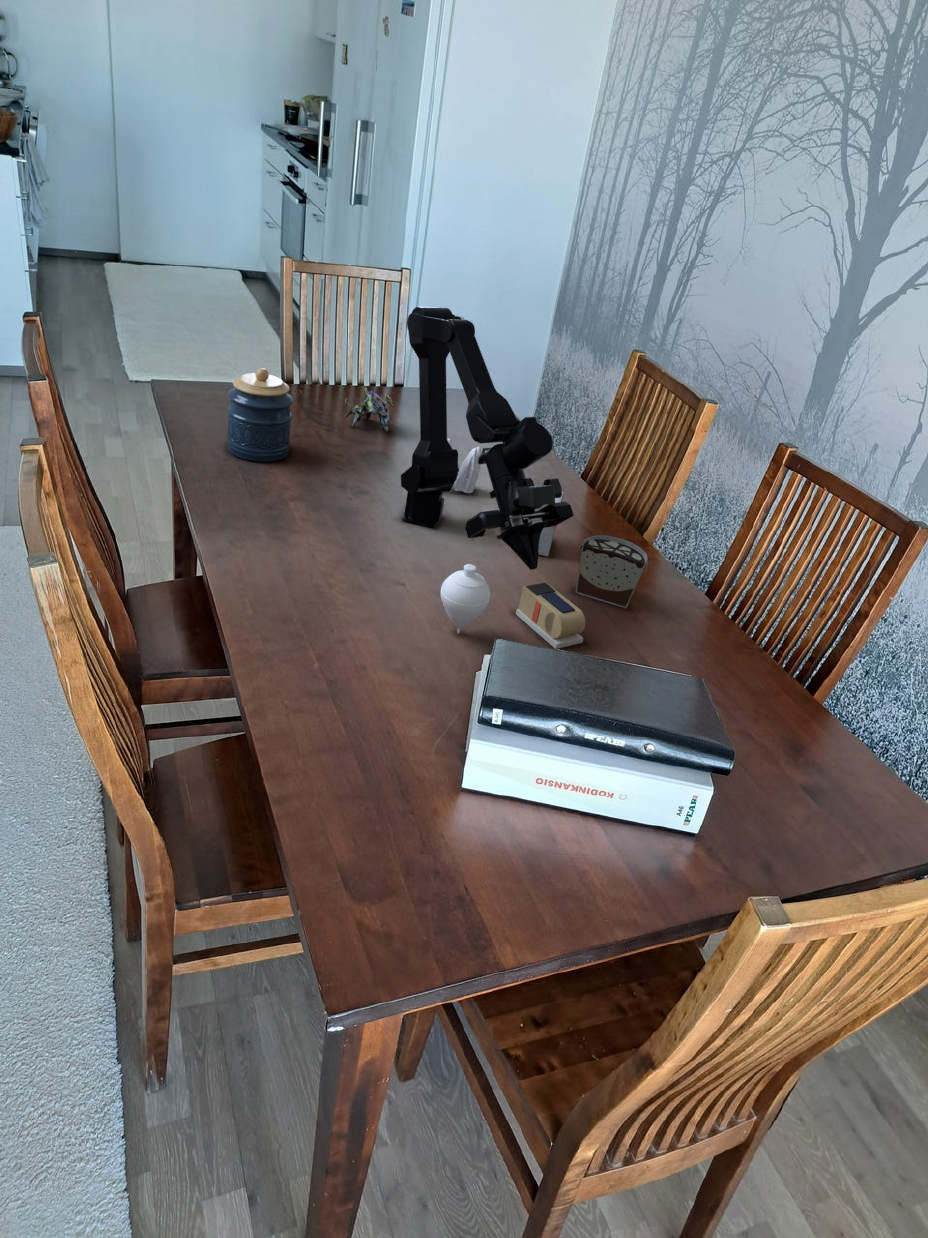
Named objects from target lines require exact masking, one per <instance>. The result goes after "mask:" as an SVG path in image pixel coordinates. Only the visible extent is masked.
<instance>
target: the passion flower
mask: <svg viewBox="0 0 928 1238" xmlns="http://www.w3.org/2000/svg"><path fill="white" fill-rule="evenodd" d="M363 392H364V394H365V397H366V399H365V400H364V401H361V404H355V406H354V407H352V405H351V404H350V403H349V402H348V401H349V398H348V397H345V398H344V405H345V406H349V407H350V410H349V411H348V412H347V413H345V415H344V417H343V418H344V419H346V418H348V417H349V416H350V415H354V419H353V422H352V425H351V426H350V428H353V427H354V426H355V424H357V423H358V422H360V421H361V419H362V418H363V417H364V416H365V417H364V419H365V421H366V420H369V419H371V416H372V415H378V418H379V426H380V428H381V430H382V431H384V432H388V431H389V427H388V426H389V424H390V422H391V421H392V417H391V410H390V409H389V408H388V407H387V404H388V405H390V406H391V407H392V408H395V407H396V405H395V403H394V401H393V398H391V396H390V394H389V393H388V392H386V393H385V394H384V399H385V401H384V400H383V399H382V396H380V395H379V394H378V393H377V392H376V391H373V390H372V389H371V390H370V391H369V390H368V388H367V387H364V388H363Z"/></svg>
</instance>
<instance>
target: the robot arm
mask: <svg viewBox="0 0 928 1238" xmlns="http://www.w3.org/2000/svg"><path fill="white" fill-rule="evenodd" d="M406 327H407V331H408V340H409V345H410V346H411V348H412V350H413V352H414V353H415V356H416V357H417V358H418V383H419V385H418V386H419V430H420V431H419V432H420V433H419V434H420V439H419V442H418V443H417V445H416V447H415V449H414V451H413V453H412V455H411V466H410V467H409V468H408V469H406V470H405V471H404V472H402V473H401V474H400V487H401V488H403V490H405V491H406V492H407V493H406V500H405V507H404V513H403V515H402V517H401V521H403V522H408V523H411V524H415V525H419V526H423V527H428V528H435V527H436V525H437V523H439V522H440V520H441V518H442V516H443V510H444V505H445V498H444V497H443V493H450V492H451V491H452V489H453V488H454V486H455V483H456V480H457V477H458V474H459V471H460V467H459V451H458V450H457V449H456V448H455V449H454V448H453V446H452V447H451V445H450V444H449V442H448V440H447V439H448V403H447V402H448V401H447V399H448V398H447V397H448V395H447V394H448V393H447V358H448V356H449V354H450V357H451V359H452V362H453V364H454V367H455V370H456V372H457V375H458V378H459V381H460V383H461V386H462V388H463V391H464V393H465V397H466V400H467V409H466V413H465V418H466V422H467V426H468V427H467V428H468V432H469V434H470V436H471V439H472V440H473V441H474V442H477V443H478V444H493V443H497V444H494V445H493V446H492V447H483V448H482V449H481V455H480V457H479V459H478V464H481V465H486V469H487V472H488V476H489V479H490V482H491V486H492V490H491V491H489V496H490V499H495V501H496V504H497V508H498V509H493V510H485V511H480V512H478V513H477V514H475V515H474V516H472V517H471V518H469V519H468V520H467V521H466V522H465V526H464V530H465V533H466V536H467V539H476V538H482V537H484V536H485V533H486V531H487V530H491V529H499V532H500V533H499V534H498V535H497V536H496V538H497V540H502V541H503V542H504V543H505V544H506V545H507V546H508V547H509V548H510V549H511V550H512V551H513V552H514V553H515V554H516V555H517V557H518V558H519V559H520V560H521V561H522V562H523V564H525V566H527V568H528V569H529V570H530V571H533V570H536V569H538V565H539V555H538V551H539V540H540V534H541V532H542V530H543V528H548V527H553V526H556V527H557V526H558V525H560V524H562V523H564V522H565V521H567V520H569V519H571V518H573V517H575V516H574V511H573V507H572V505H571V504H570V503H568V501H562V502H558V503H555V498H560V497H561V496H562V492H563V488H562V485H561V482H560V480H559V478H557V477H556V478H546V479H544V480H543V483H542V484H541V485H536V484H535V483H534V480H533V479H532V478H531V477H526V474H525V470H526V469H528V468H529V467H531V466H532V465H534V464H535V463H537V462H539V461H540V460H542V459H543V458H545V457H546V456H548V455H549V454H550V453H551V452H552V450H553V446H554V441H553V436H552V435H551V433H550V432H549V430H548V429H547V428H546V427H545V426H543V425H542V424H540V423H538V420H537V418H536V416H525V417H523V418H522V419H521V420H520V419H519V418H518V417H517V416H516V414H515V411H514V410H513V408H512V407H511V404H510V403H509V401H508V399H507V398H506V397H504V396H503V395H502V394H500V392H498V391H497V388H496V387H495V385H494V382H493V380H492V377H491V375H490V372H489V370H488V366H487V364H486V362H485V359H484V356H483V354H482V351H481V348H480V346H479V342H478V341H477V338H476V336H475V335H476V328H475V324H474V323H473V322H472V321H471V320H468V319H465V318H464V316H459V315H455V314H454V313H453V312H452V310H451V309H450V308H448V307H443V306H442V307H441V306H440V307H439V306H437V307H436V306H435V307H434V306H416V307H414V308H413V309H412V311H411V312H410V314H409V315H408V316H407V319H406ZM548 504H549V505H548ZM543 505H547V506H545V507H544V508H542V509H540V510H539V511H535V509H539V508H540V507H542V506H543ZM527 518H528V519H527Z"/></svg>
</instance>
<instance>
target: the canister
mask: <svg viewBox="0 0 928 1238" xmlns="http://www.w3.org/2000/svg"><path fill="white" fill-rule="evenodd" d="M232 386H233V387H232V388H231V389H229V390H228V393H227V396H228V398H229V399H230V403H229V406H228V407H227V413H228V414H227V416H228V417H227V435H226V445H227V450H228V452H229V453H230V454H232V455H233V456H235V457H237V458H240V459H243V460H247V461H253V462H263V463H265V462H276V461H280V460H282V459H285V458H286V457H288V454H289V450H290V449H291V448H290V447H291V446H290V445H291V442H290V433H291V422H292V418H293V414H292V412H291V406H292V404H293V403H294V398H293V396H291V394H290V393H289V392H290V389H291V388H290V386H289V384H287V383H286V382H284V380H282V378H280V377H278V376H275V375H272V374H270V373H269V371H268V370H267V369H266V368H263V367H260V368H257V369H256V371H255V372H250V373H249V372H248V373H245V374H242V375H241V376H239V377H237V378H235V379H234V380H233V381H232Z"/></svg>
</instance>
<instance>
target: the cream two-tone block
mask: <svg viewBox="0 0 928 1238" xmlns="http://www.w3.org/2000/svg"><path fill="white" fill-rule="evenodd" d="M515 615H516V616H517V617H518V618H519V619H520V620H522V621H523V622H524V623H525V624H526V625H527V626H528V627H530V628H531V629H532V630H533V631H534V632H535V633H536V634H538V636H540V637H541V638H542V639H543V640H544V641H546V642H547V643H548V644H549V645H550V646H551V647H553V648H554V649H555V650H558V649H561V648H566V647H570V646H574V645H578V644H579V645H580V644H583V641H584V637H583V636H582V635H581V634H580V633H583V631H584V630H585V627H586V617H585V615H584V613H583V611H582V610H581V609H580V608H579V607H578V606H576V605H575V604H574V603H572V602H571V601H570V599H568V598H566V597H565V596H564V595H563V594H562V593H560V592H559V591H558V590H557V589H556V588H554V587H553V586H551V584H549V583H548V582H541V583H540V582H539V583H536V584H530V585H529V584H528V585H526V586H523V587H522V591H521V595H520V599H519V604H518V607H517V609H516V611H515Z"/></svg>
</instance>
